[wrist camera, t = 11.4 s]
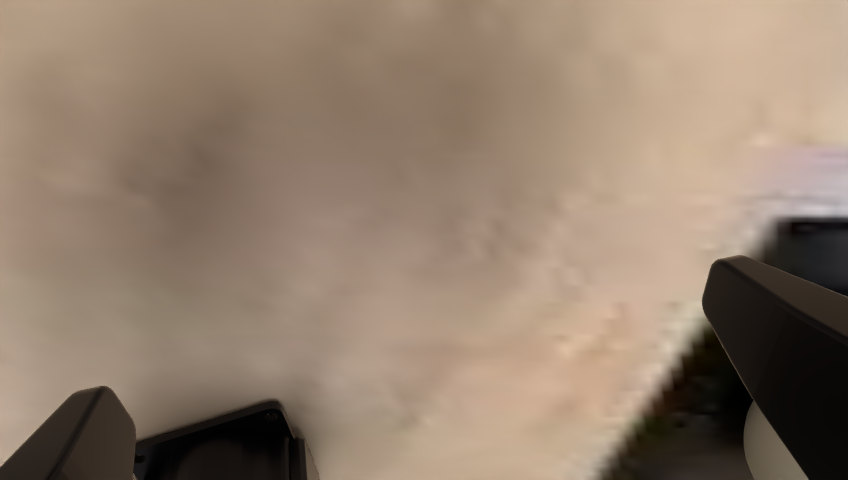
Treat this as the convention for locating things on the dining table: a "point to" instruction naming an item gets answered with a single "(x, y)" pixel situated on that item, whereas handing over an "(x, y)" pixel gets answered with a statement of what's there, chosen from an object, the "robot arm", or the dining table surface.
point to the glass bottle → (767, 450)
